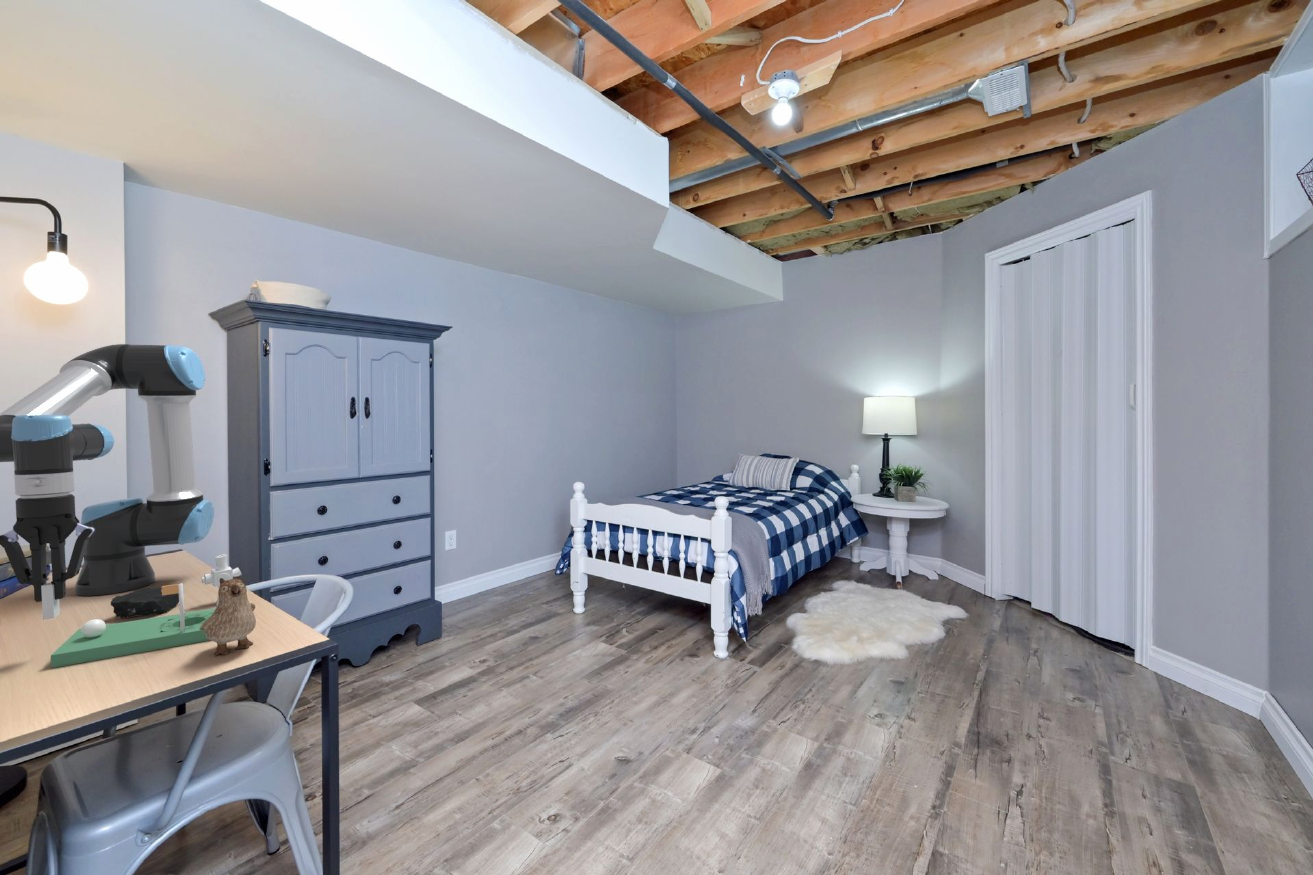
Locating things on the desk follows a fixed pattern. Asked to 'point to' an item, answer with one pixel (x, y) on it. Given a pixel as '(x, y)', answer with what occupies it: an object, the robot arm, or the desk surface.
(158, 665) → the desk surface
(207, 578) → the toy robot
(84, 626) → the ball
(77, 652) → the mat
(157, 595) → the rock
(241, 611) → the figurine
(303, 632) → the desk surface
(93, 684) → the desk surface
